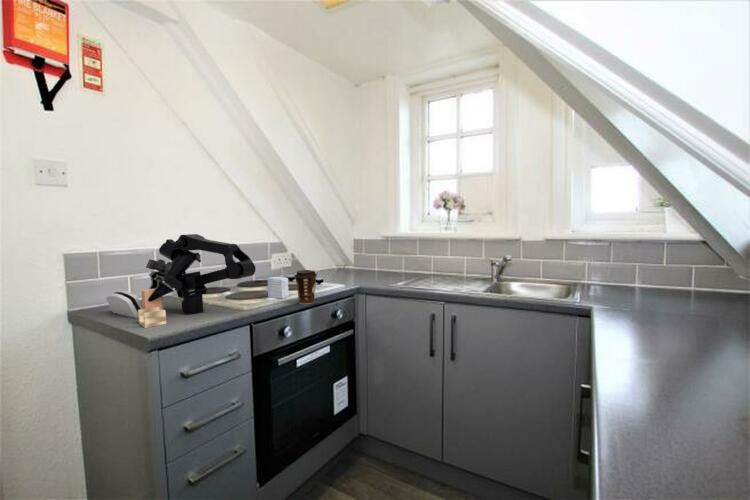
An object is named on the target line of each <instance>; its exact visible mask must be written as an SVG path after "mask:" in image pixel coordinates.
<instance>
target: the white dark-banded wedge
mask: <svg viewBox="0 0 750 500" xmlns="http://www.w3.org/2000/svg"><path fill="white" fill-rule="evenodd" d="M105 300H106V301H107V304H108V306H109V309H110V310H111V313H113V314H116V313H117V315H121V316H127V317H129V318H130V317H131V318H136V319H137V318H138V319H139V317H138V310H141V309H143V308H142V301H141V300H140V299H139V297H138V296H137V295H136V294H134V293H132V292H129V291H128V290H118V291H117V290H116V291H115V292H113V293H111V294H109V295H107V296H106V297H105Z"/></svg>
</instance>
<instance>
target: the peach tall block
mask: <svg viewBox="0 0 750 500" xmlns="http://www.w3.org/2000/svg"><path fill="white" fill-rule="evenodd" d="M155 289H156V288H154V289H149V288H147V289H141V291H140V292H141V304H142V308H143V309H147V308H153V307H159V309H160V310H164V299H163V298H164V297H163V296H161V297H159V298H157V299H155V300H153V301H151V302H150V301H148V299H149V297H150V296H151V294H152V293H153V291H154V290H155Z"/></svg>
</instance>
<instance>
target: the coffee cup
mask: <svg viewBox="0 0 750 500" xmlns="http://www.w3.org/2000/svg"><path fill="white" fill-rule="evenodd" d="M317 276H318V275H317V273H316V271H315V270H311V269H305V270H304V269H303V270H298V271H297V272H296V274H295V275H294V278H295V282H296V287H297V288H296V290H297V298H298V304H299V305H311V304H314V303H315V295H316V289H317V288H316V286H317V285H316V284H317V281H316V278H317Z"/></svg>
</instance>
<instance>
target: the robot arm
mask: <svg viewBox="0 0 750 500" xmlns="http://www.w3.org/2000/svg"><path fill="white" fill-rule="evenodd" d="M165 240H166V241H165V242H164V243H162V244H161V246H159V249H158V252H159V255H161V256H163V257H165V258H167V259H168V260H170V261H167V262H166V260H164V259H160V258H159V259H157V260H155V259H151V258H150V259H149V260H148V261H147V264H146V266H145V268H146V269H150V270H153V271H150V273H149V274H148V277H149V278H150V281H151V285H150V287H149V288H148V289H154V288H156V289H155V290H154V291H153V293H152V294H151V296H150V297H149V299H148V301H150V302H151V301H153V300H155V299H157V298H159V297H161V296H166V295H167V294H170V293H173V292H176V294H177V297H178V298H180V299H181V300H180V305H181V312H182V313H183V314H184V315H192V314H193V315H194V314H198V313H200V314H201V313H205V310H204V301H203V300H204V299H203V295H205V294H207V290H208V288H207V287H206V285H207V284H213V283H216V282H219V281H220V282H221V281H223V280H224V281H225V280H227V279H228V280H241V279H244V278H249V277H252V276H254V275H256V274H255V273H256V265H255V263H254V262H253V261H252V259H251V258H250V256H249V255H248V254H247V253H246V252H244V251H243V250H242V249H241V248H240V246H239V245H238V244H236V243H229V242H224V241H223V242H222V241H217V240H212V239H208V238H205V237H204V236H202V235H200V234H197V233H192V234H191V233H189V234H180V235H179V236H178V239H176V241H175V240H173V239H171V238H168V239H165ZM192 251H202V252H207V253H214V254H219V255H222V256H223V257H224V263H225V268H222V269H219V270H214V271H210V272H207V273H203V274H201V271H200V270H199V271H193V272H188V273H187V272H186V271H188V269H189V268H190V267H191V266H192V265H193V264H194V262H198V263H202V260H201V256H202V255H201V254H200V253H199V252H192ZM234 258H235V259H237V260H238V261H235V259H234Z"/></svg>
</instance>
